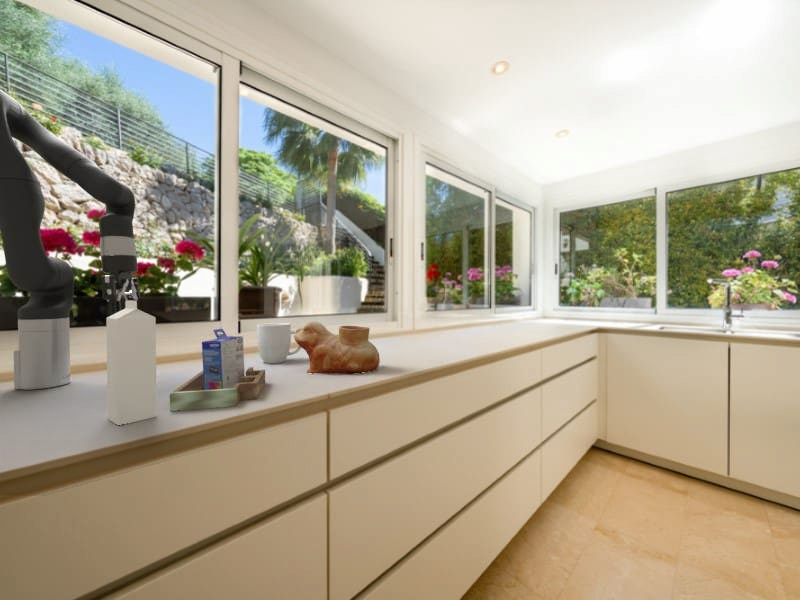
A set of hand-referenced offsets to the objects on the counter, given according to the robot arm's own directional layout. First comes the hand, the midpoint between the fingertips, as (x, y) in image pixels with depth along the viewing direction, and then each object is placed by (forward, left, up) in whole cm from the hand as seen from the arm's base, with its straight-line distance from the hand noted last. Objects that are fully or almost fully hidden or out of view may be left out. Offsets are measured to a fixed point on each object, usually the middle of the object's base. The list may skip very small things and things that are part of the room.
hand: (124, 315), depth 94 cm
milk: (+16, -34, -18) cm, 42 cm away
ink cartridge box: (+27, -14, -18) cm, 36 cm away
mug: (+37, +18, -18) cm, 45 cm away
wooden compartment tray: (+29, -20, -18) cm, 40 cm away
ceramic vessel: (+56, -1, -18) cm, 59 cm away
